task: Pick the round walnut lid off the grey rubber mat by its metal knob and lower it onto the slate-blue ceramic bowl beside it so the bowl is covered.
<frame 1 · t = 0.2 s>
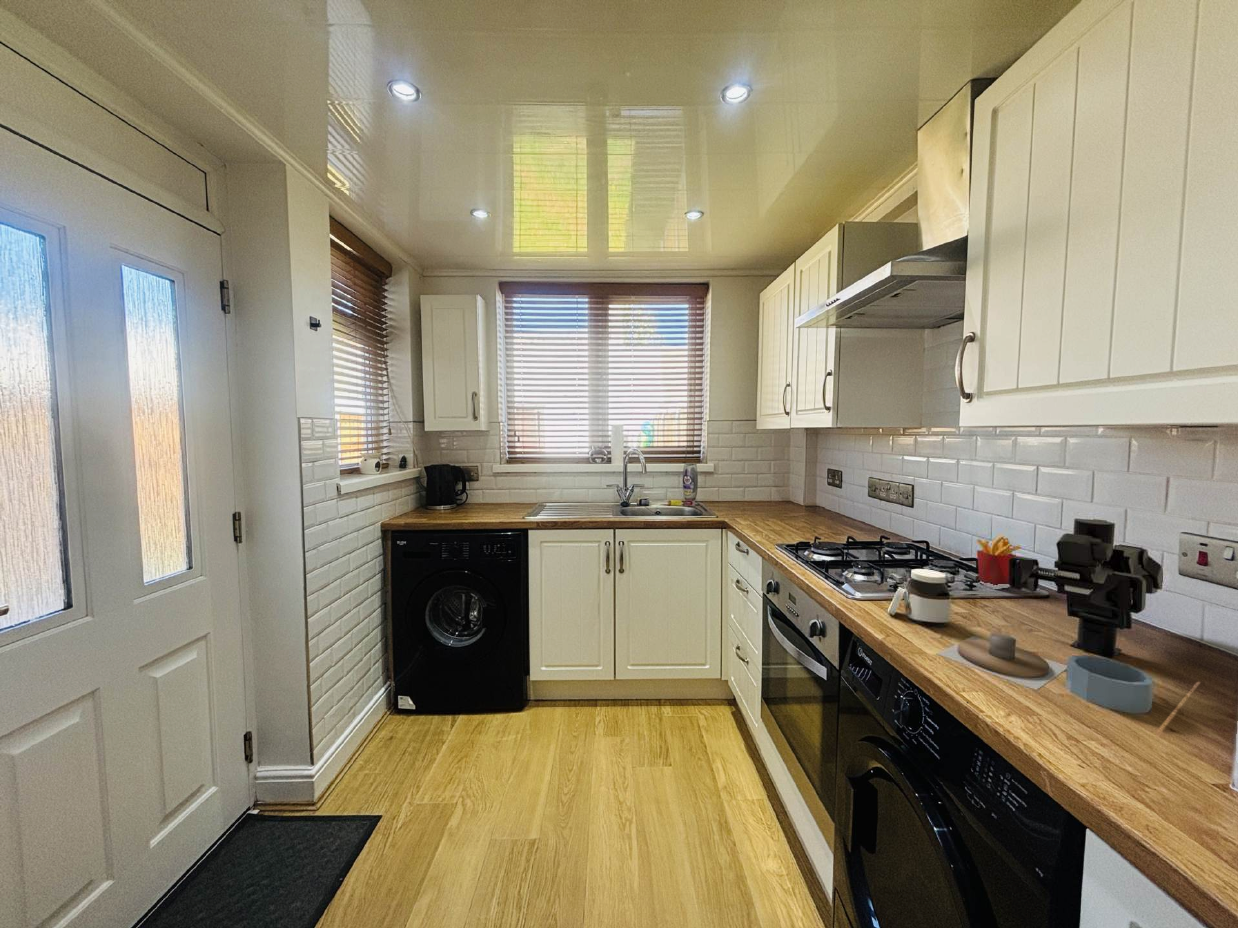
hand: (1054, 591, 87), 17 cm above the countertop, tool horizontal, fingers open, 9 cm apart
lid: (1001, 659, 96), resting on mat
bowl: (1106, 697, 84), on the countertop
french fries: (999, 588, 142), on the countertop
spread jar: (915, 620, 117), on the countertop
smartphone: (917, 589, 141), on the countertop
mat: (1001, 661, 96), on the countertop
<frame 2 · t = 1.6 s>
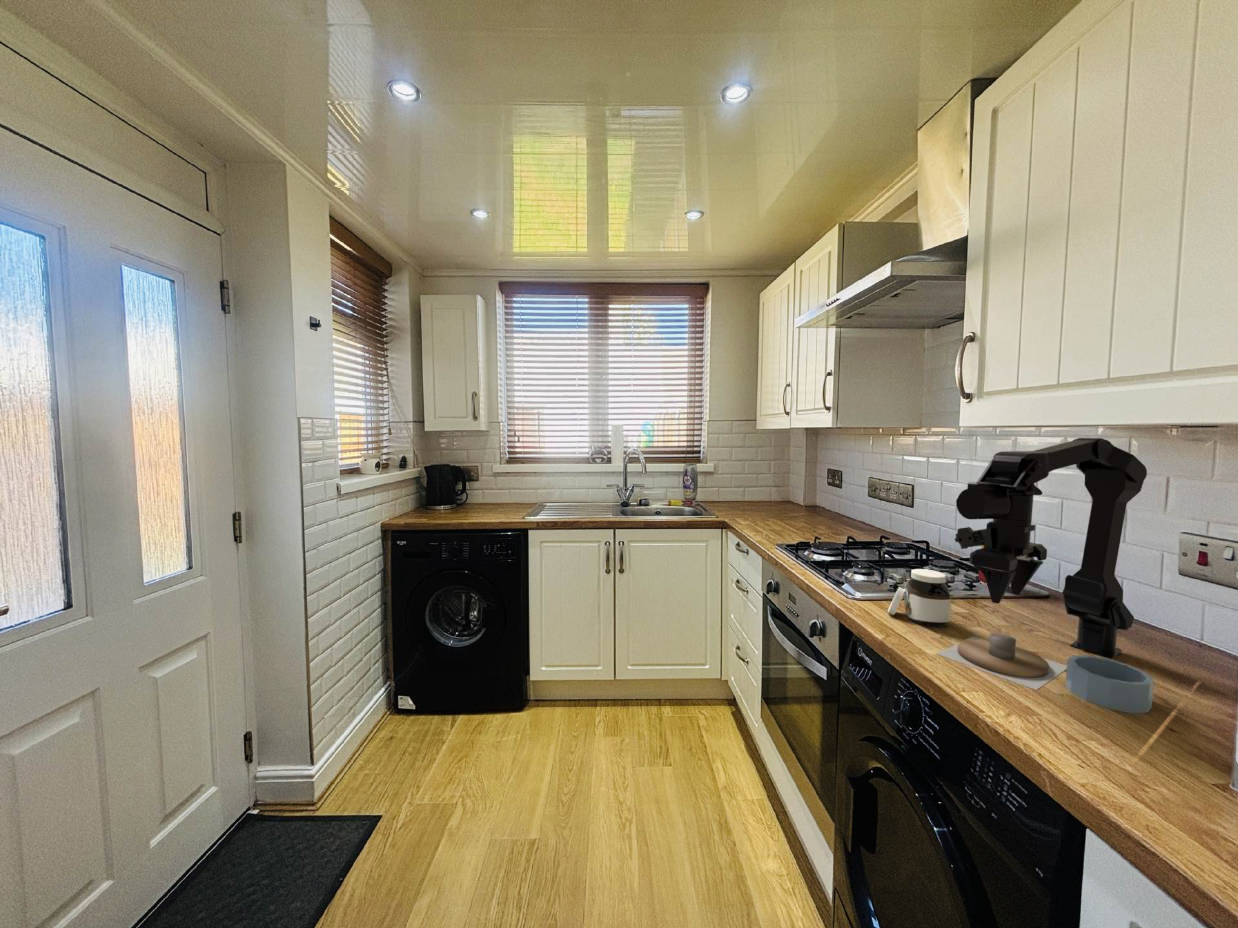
hand: (1005, 598, 95), 13 cm above the countertop, tool pointing down, fingers open, 9 cm apart
nothing on the countertop moved.
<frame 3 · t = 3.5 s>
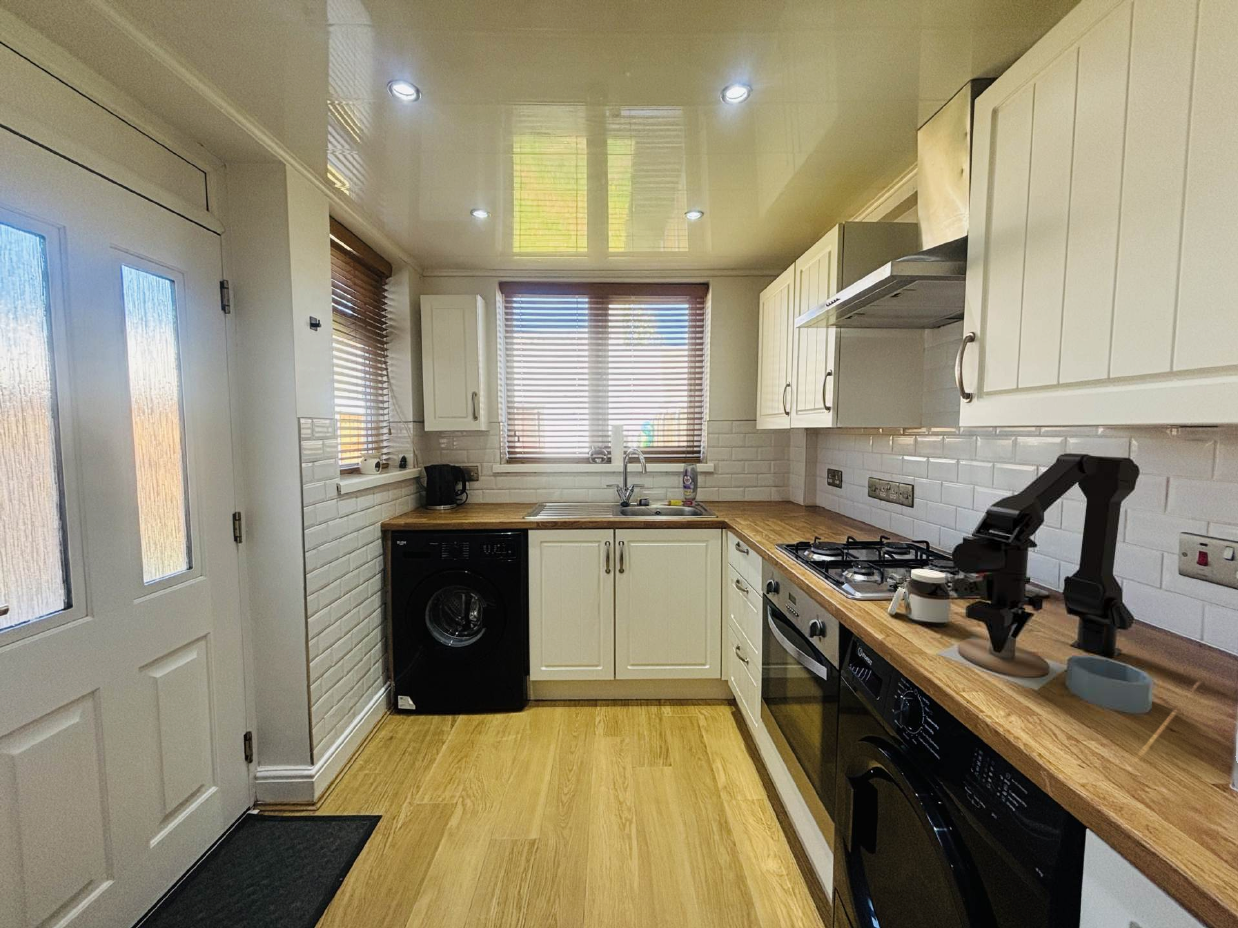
hand: (1002, 649, 96), 3 cm above the countertop, tool pointing down, fingers closed on lid, 4 cm apart
lid: (1001, 659, 96), resting on mat, touching gripper
everything else where it was.
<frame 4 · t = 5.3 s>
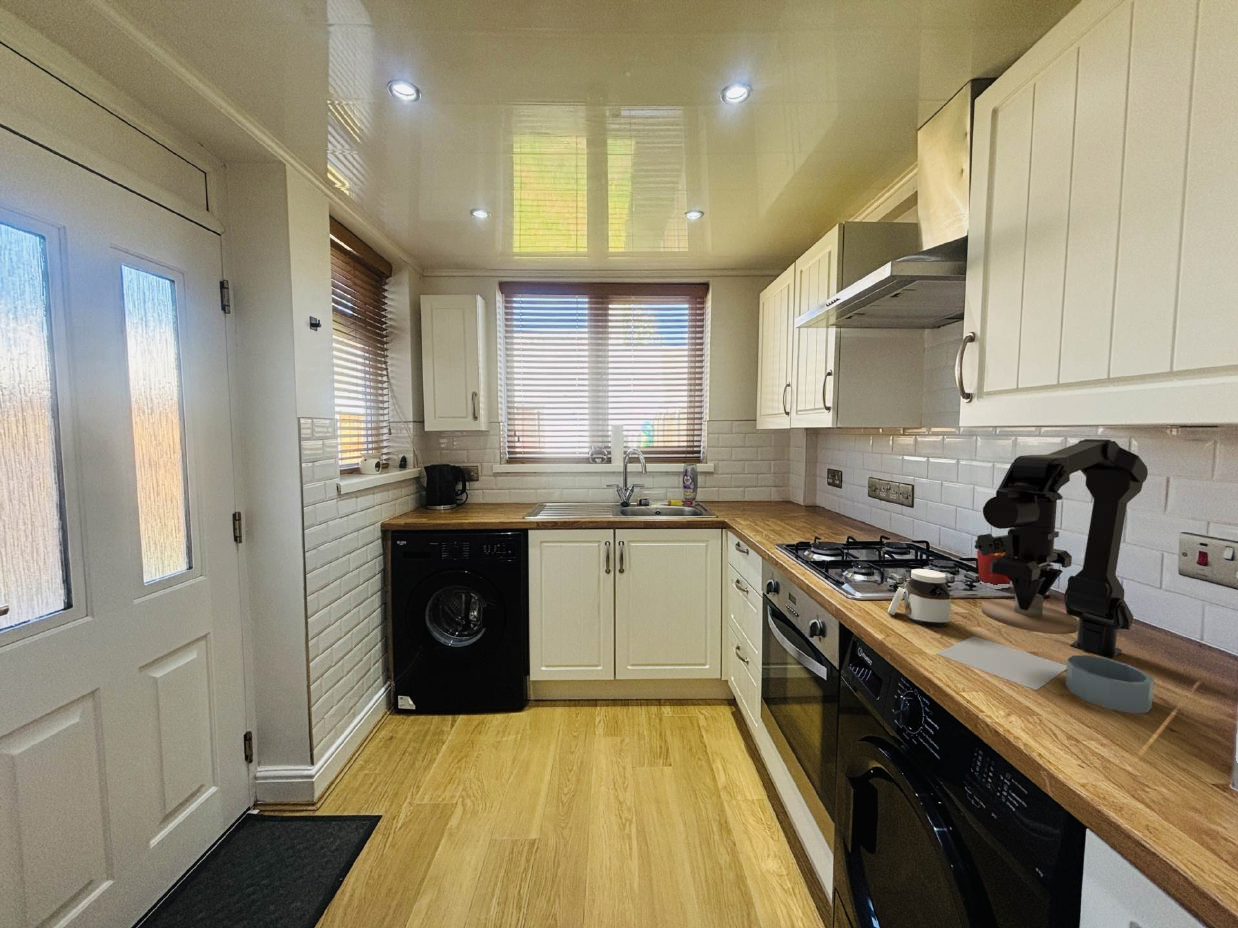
hand: (1028, 607, 92), 12 cm above the countertop, tool pointing down, fingers closed on lid, 4 cm apart
lid: (1027, 618, 93), point 10 cm above the countertop, touching gripper
everything else where it was.
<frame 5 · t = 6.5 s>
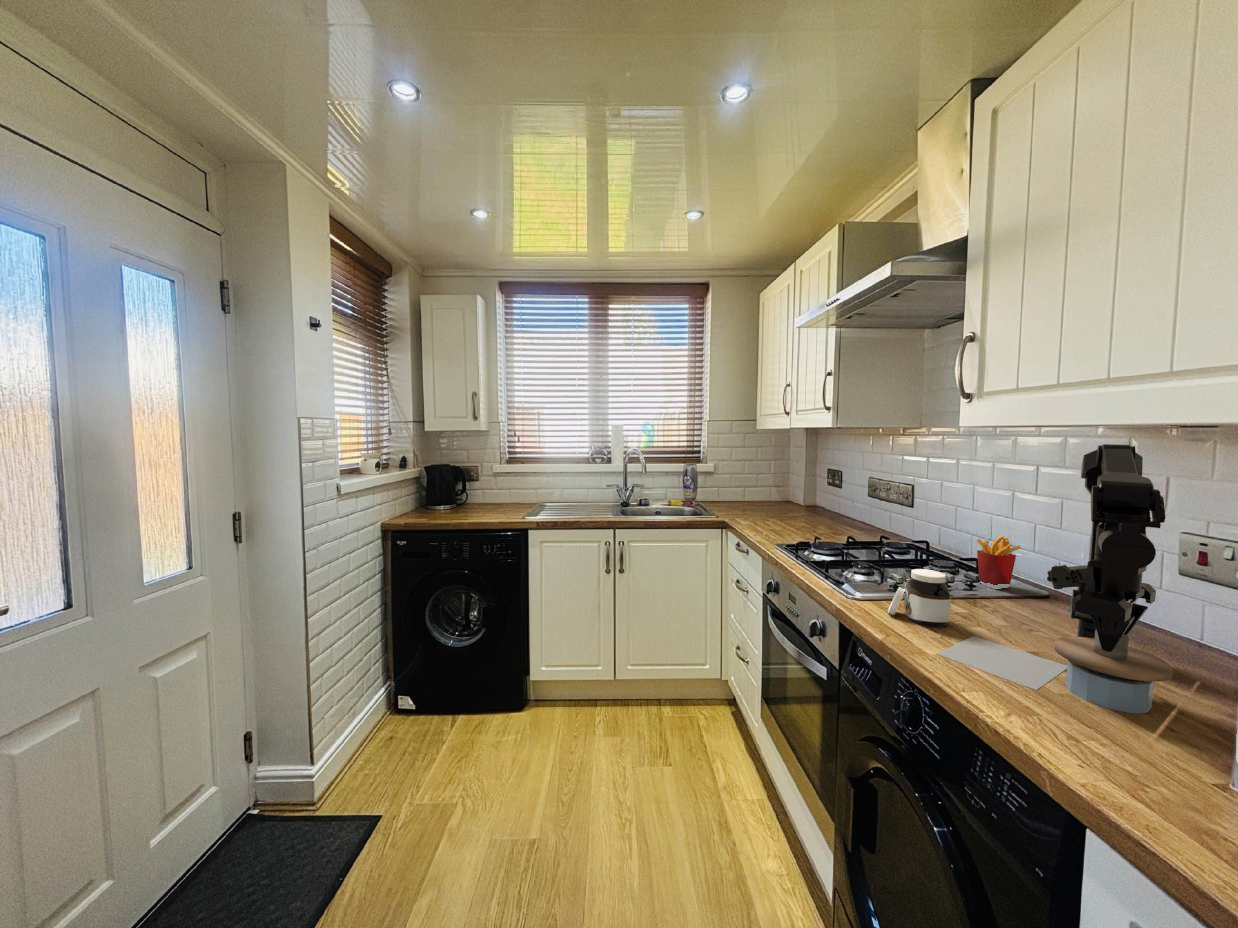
hand: (1110, 647, 83), 9 cm above the countertop, tool pointing down, fingers closed on lid, 4 cm apart
lid: (1109, 659, 83), point 7 cm above the countertop, touching gripper
everything else where it was.
when the fingers open (8 cm above the countertop, at t = 7.2 s): lid drops 1 cm, resting on bowl.
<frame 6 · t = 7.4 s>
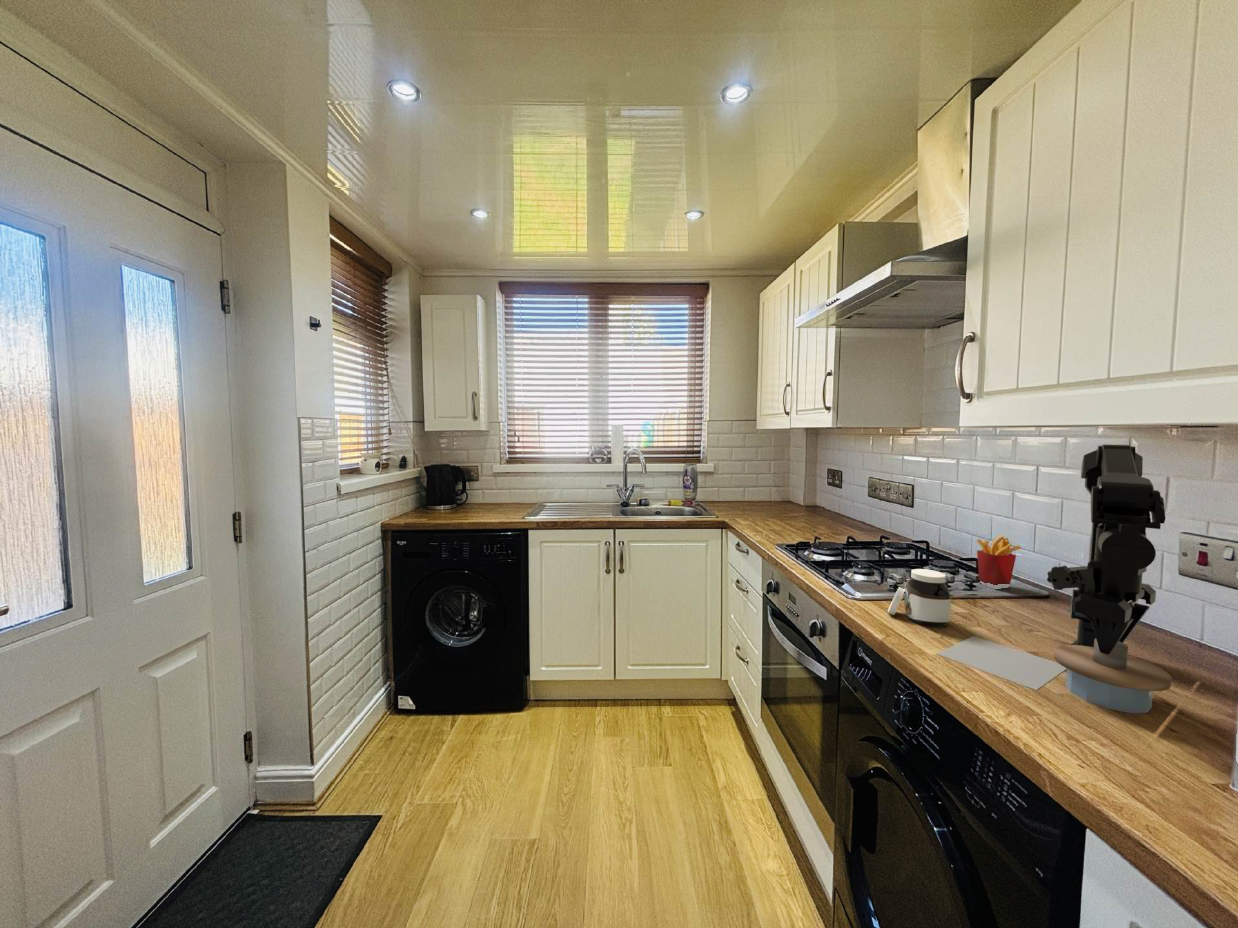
hand: (1110, 648, 83), 8 cm above the countertop, tool pointing down, fingers open, 6 cm apart
lid: (1108, 668, 83), point 5 cm above the countertop, touching bowl
everything else where it was.
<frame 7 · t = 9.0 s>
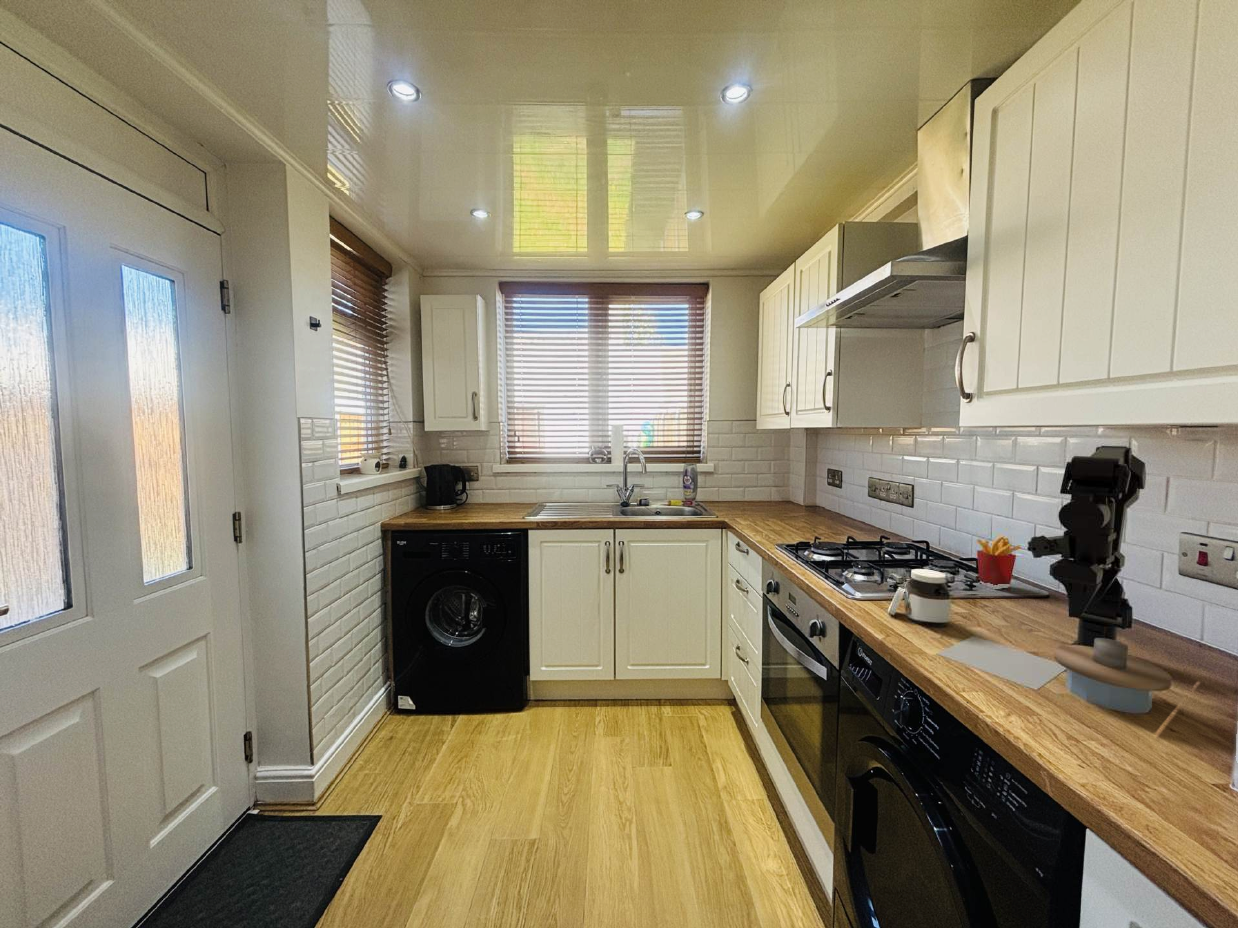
hand: (1084, 609, 91), 12 cm above the countertop, tool pointing down, fingers open, 9 cm apart
nothing on the countertop moved.
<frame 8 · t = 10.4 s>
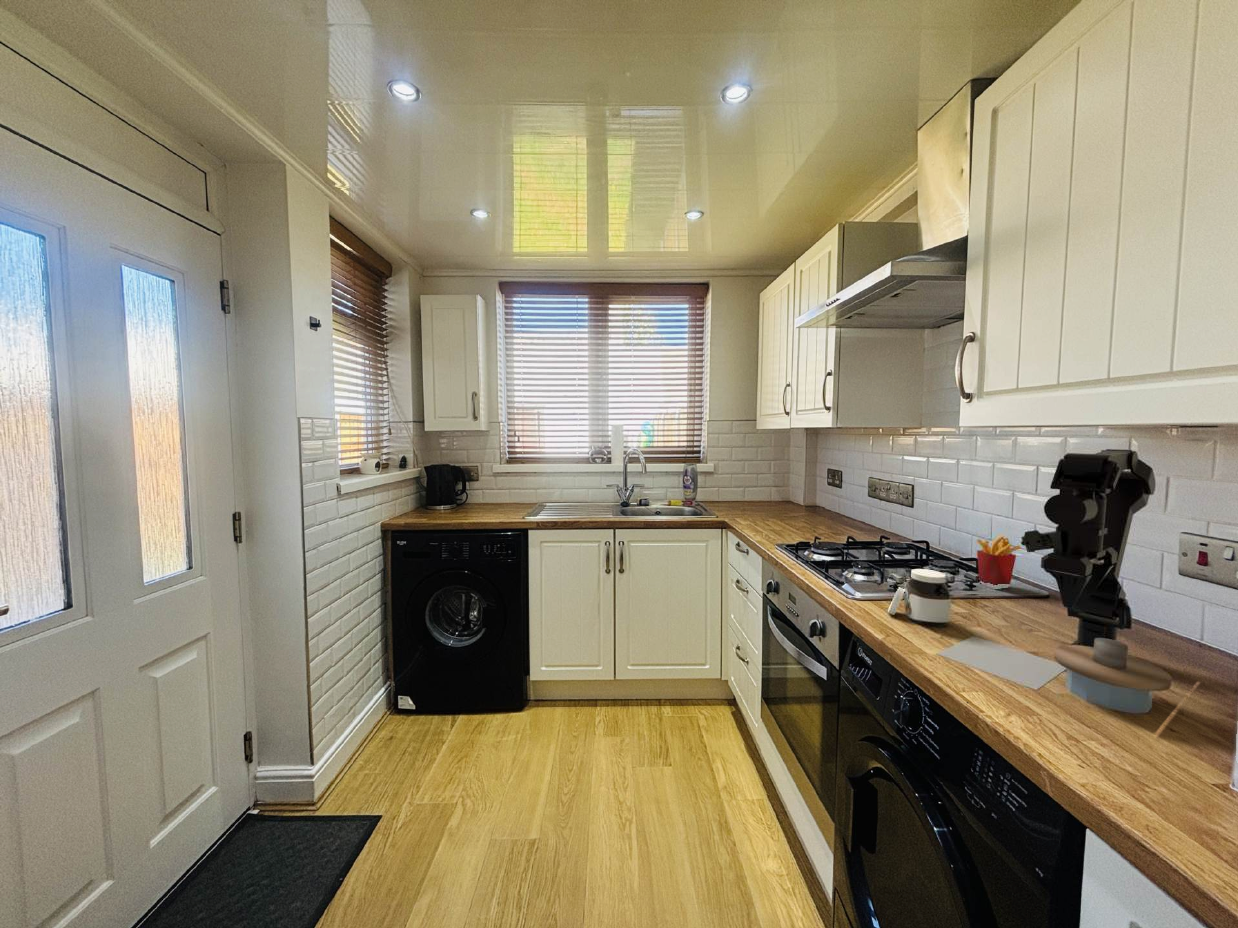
hand: (1076, 603, 93), 13 cm above the countertop, tool pointing down, fingers open, 9 cm apart
nothing on the countertop moved.
at the end: lid 0.0 cm from the bowl (horizontally); lid point 5.0 cm above the countertop; lid tilted 0° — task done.
